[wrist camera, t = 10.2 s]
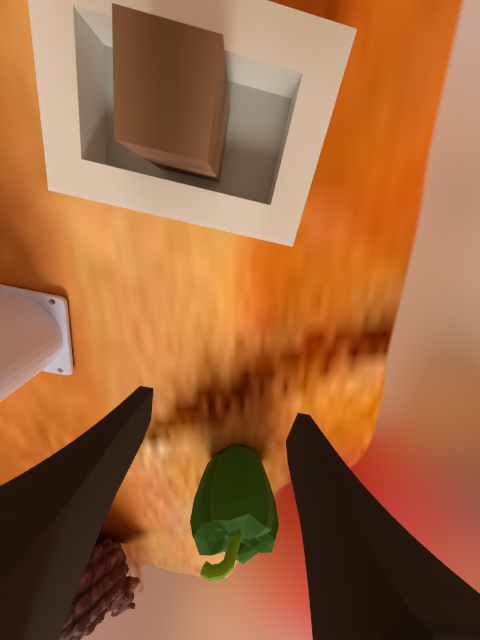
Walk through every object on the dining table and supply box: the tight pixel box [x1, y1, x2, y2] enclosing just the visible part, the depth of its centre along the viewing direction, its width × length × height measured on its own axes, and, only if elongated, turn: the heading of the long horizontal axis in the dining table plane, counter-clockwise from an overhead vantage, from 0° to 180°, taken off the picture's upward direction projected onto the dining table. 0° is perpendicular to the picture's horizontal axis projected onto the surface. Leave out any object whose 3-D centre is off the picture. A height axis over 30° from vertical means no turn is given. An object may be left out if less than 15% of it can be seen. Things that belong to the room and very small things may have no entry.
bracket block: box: [112, 3, 230, 182], centre depth 12 cm, size 4×4×6 cm
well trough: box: [28, 0, 357, 247], centre depth 13 cm, size 15×10×3 cm, turn 78°
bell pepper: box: [190, 445, 279, 581], centre depth 23 cm, size 8×8×10 cm
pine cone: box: [58, 537, 140, 640], centre depth 30 cm, size 18×10×10 cm, turn 61°
